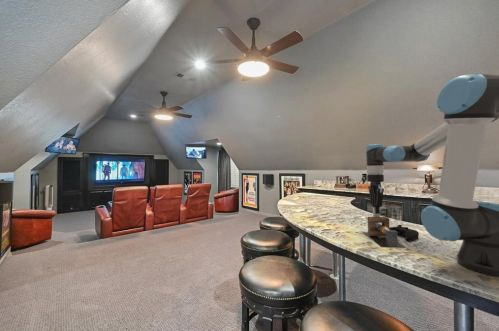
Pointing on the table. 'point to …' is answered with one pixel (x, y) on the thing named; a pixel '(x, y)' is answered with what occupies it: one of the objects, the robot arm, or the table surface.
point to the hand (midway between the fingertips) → (376, 219)
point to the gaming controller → (406, 232)
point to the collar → (372, 225)
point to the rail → (385, 237)
